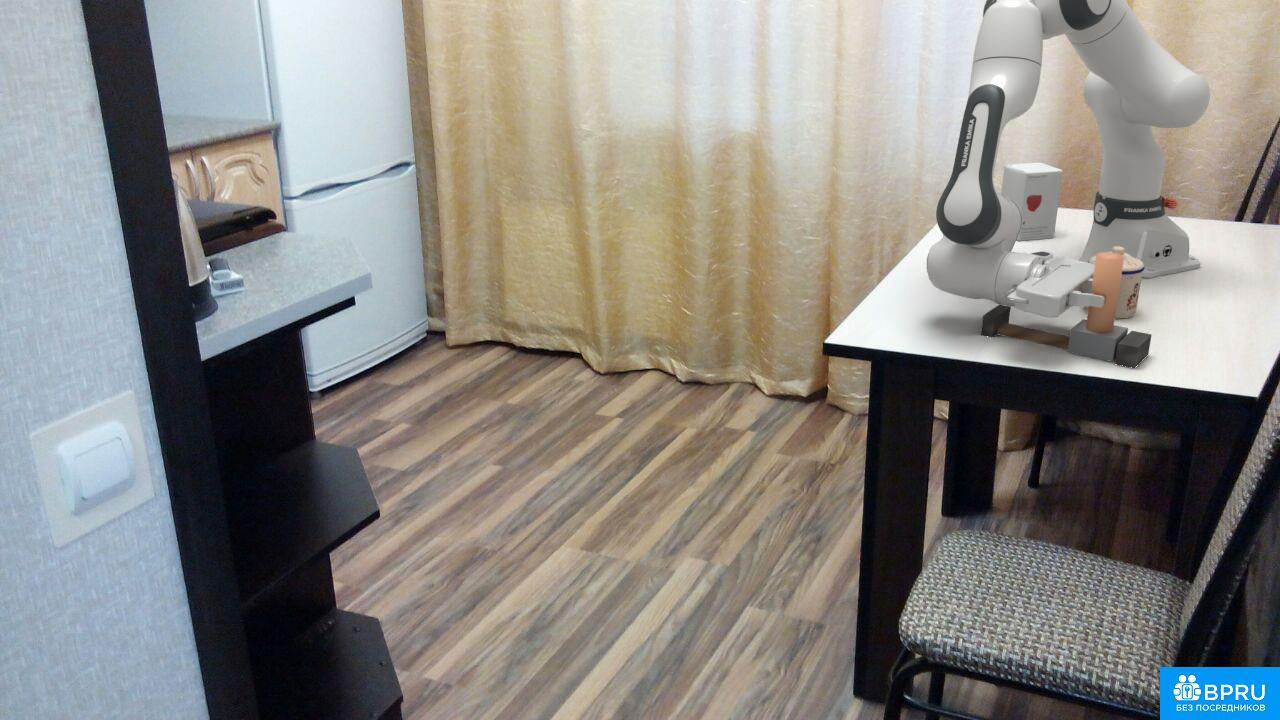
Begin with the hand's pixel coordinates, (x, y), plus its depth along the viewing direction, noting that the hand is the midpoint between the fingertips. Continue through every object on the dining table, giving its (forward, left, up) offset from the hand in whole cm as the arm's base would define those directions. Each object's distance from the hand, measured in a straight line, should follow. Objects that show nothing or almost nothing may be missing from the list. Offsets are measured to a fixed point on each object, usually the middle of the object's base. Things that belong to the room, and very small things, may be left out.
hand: (1110, 296), depth 172 cm
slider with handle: (+1, -1, -10) cm, 10 cm away
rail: (+4, -5, -10) cm, 11 cm away
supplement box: (-27, -65, -10) cm, 71 cm away
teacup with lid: (-14, -18, -10) cm, 25 cm away
